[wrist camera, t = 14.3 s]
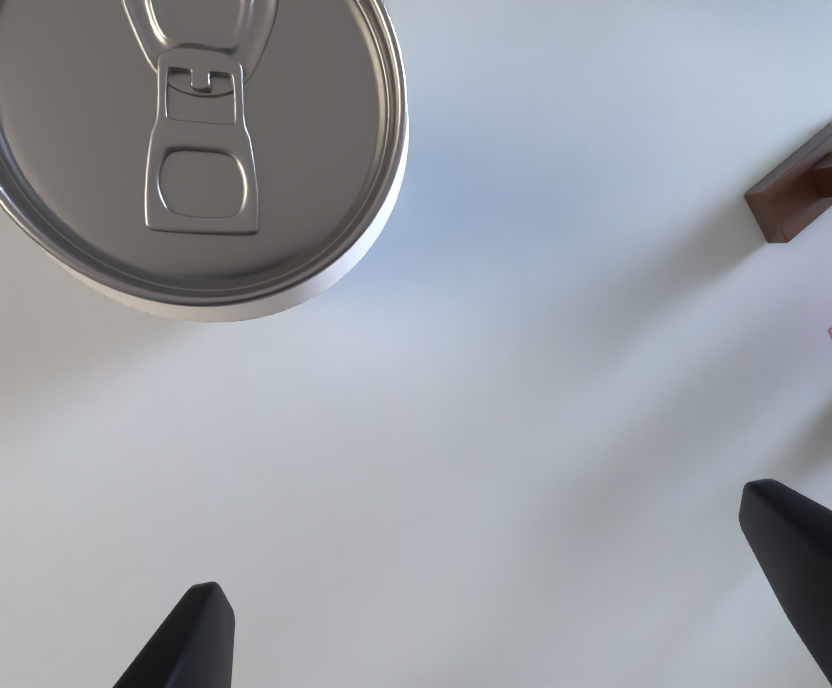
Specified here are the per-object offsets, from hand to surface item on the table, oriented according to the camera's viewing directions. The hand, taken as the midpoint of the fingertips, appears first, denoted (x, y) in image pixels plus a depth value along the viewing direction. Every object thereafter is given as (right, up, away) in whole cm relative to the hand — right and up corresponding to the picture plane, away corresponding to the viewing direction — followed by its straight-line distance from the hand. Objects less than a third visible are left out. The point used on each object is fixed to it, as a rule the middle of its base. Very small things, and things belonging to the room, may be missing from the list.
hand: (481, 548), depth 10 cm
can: (-7, +9, +9) cm, 14 cm away
